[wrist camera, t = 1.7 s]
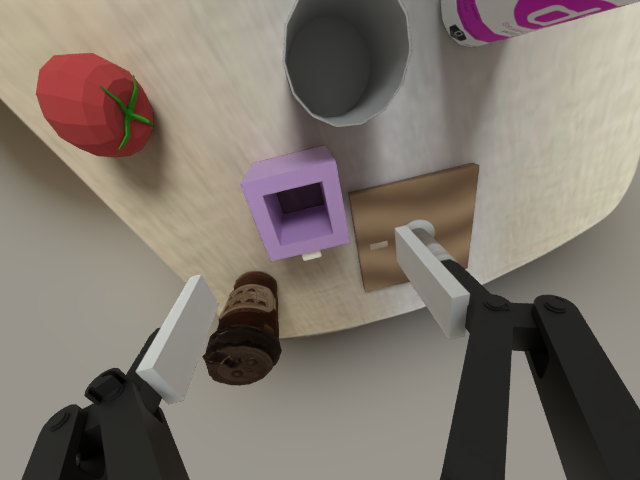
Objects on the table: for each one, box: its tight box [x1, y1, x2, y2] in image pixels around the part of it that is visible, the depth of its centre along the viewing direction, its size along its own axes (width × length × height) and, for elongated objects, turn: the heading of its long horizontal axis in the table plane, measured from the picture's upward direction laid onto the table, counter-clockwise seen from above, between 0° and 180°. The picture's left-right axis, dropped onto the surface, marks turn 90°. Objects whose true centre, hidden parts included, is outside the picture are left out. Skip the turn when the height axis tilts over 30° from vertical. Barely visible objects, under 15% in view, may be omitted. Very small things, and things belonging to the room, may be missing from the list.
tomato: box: [36, 53, 154, 157], centre depth 21 cm, size 8×8×8 cm
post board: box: [348, 163, 479, 292], centre depth 31 cm, size 16×16×10 cm
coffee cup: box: [203, 271, 282, 385], centre depth 31 cm, size 9×8×13 cm
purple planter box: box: [240, 145, 350, 261], centre depth 27 cm, size 10×8×8 cm
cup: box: [283, 0, 411, 127], centre depth 20 cm, size 8×8×10 cm
